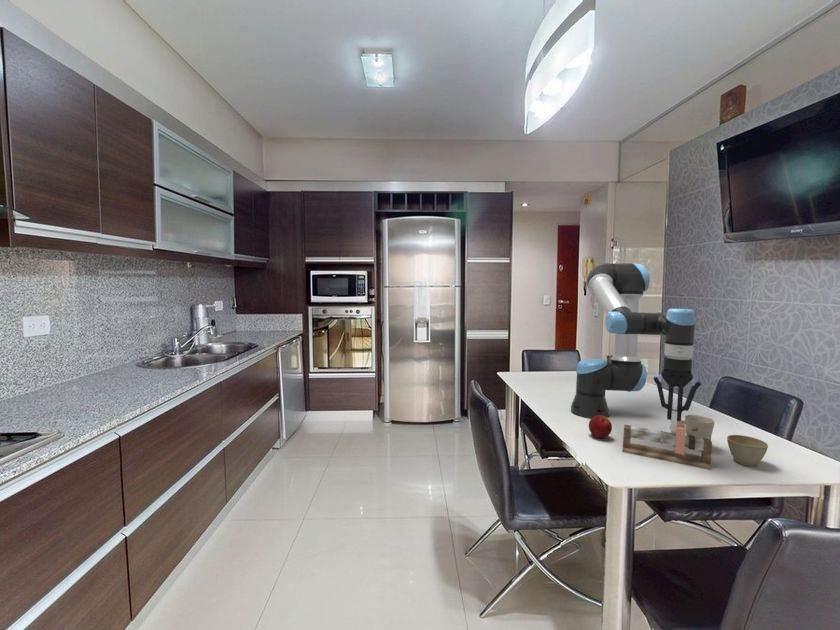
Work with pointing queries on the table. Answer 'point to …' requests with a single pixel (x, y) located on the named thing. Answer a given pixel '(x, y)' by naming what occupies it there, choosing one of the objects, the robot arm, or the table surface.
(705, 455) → the pipe stand
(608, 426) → the apple
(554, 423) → the table surface
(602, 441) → the table surface
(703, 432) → the mug
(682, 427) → the salmon pink flat block
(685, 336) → the robot arm
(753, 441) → the beige bowl
